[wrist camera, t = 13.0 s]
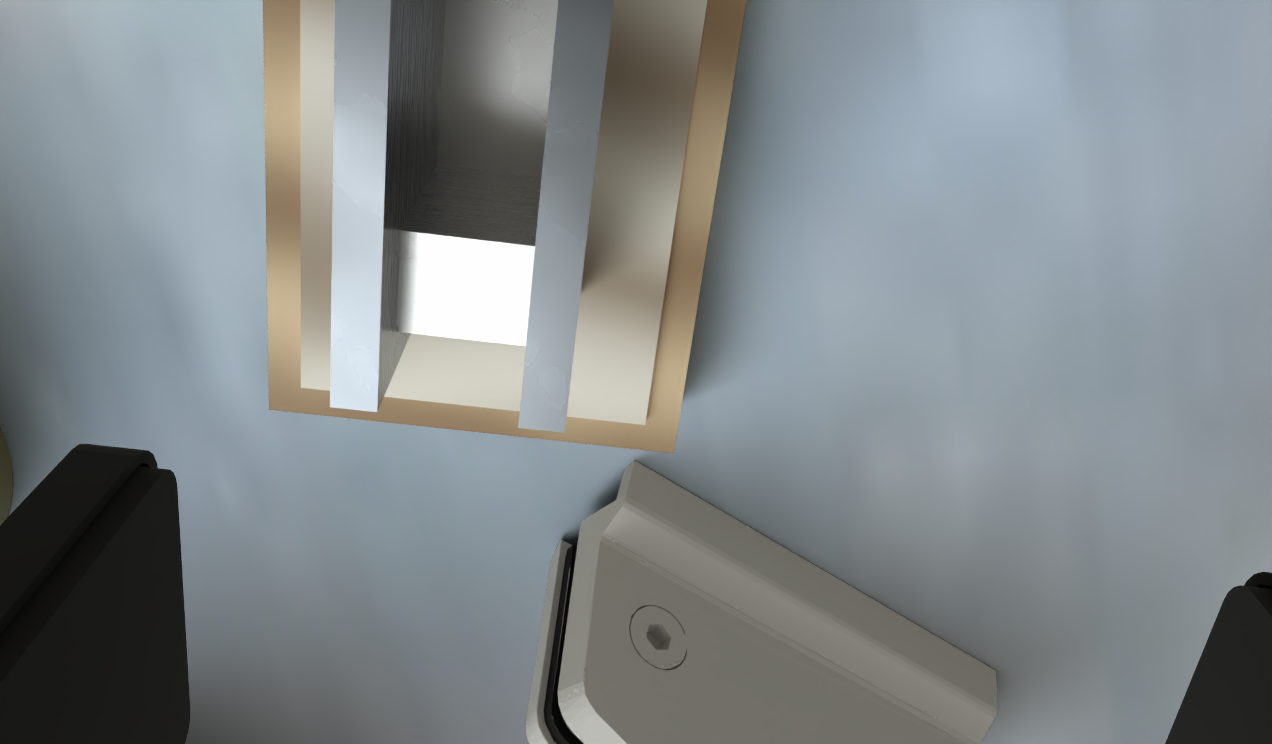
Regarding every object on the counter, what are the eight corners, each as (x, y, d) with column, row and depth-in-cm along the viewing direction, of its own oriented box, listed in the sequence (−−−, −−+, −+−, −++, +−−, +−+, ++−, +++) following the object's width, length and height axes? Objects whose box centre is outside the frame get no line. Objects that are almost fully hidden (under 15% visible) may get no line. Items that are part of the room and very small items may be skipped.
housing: (644, -282, 26) (650, -320, 19) (579, 293, 32) (564, 432, 25) (422, -315, 26) (340, -366, 18) (398, 272, 32) (329, 406, 24)
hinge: (1004, 675, 42) (1019, 958, 35) (916, 722, 45) (913, 990, 38) (624, 454, 38) (552, 721, 31) (555, 521, 41) (474, 780, 34)
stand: (670, 406, 37) (674, 458, 34) (295, 365, 36) (266, 414, 33) (812, -501, 27) (834, -541, 24) (292, -582, 26) (249, -633, 23)
